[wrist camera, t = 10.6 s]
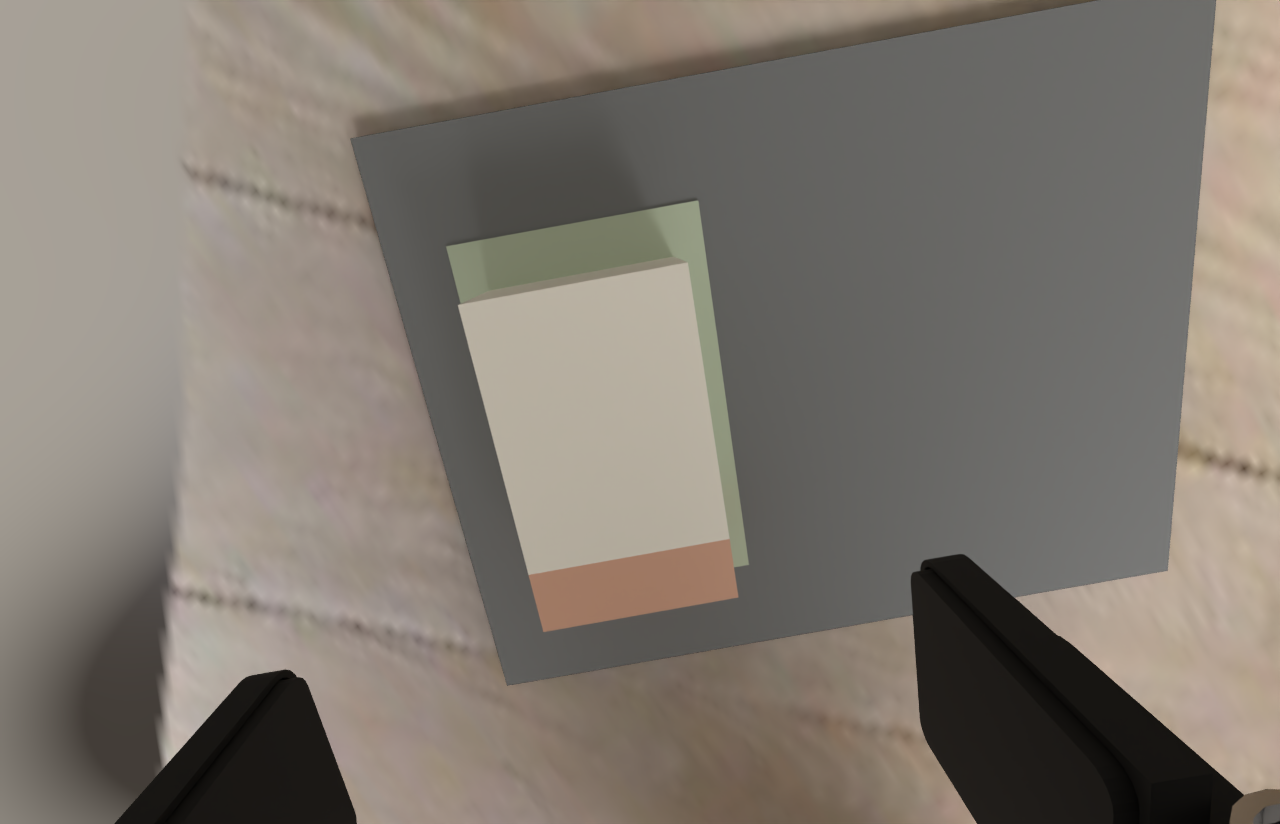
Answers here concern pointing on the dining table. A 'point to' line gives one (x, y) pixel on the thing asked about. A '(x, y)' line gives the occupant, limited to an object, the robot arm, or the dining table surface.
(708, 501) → the card box
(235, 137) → the dining table surface
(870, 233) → the mat
